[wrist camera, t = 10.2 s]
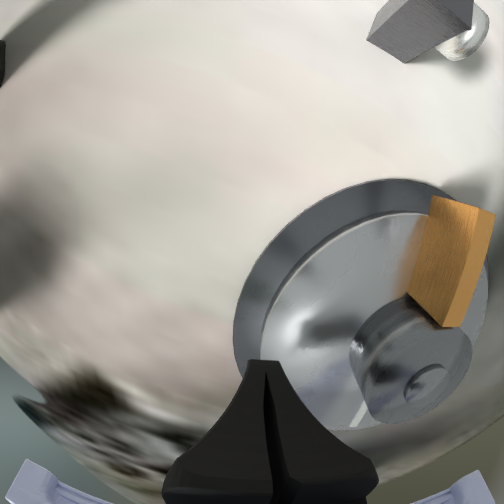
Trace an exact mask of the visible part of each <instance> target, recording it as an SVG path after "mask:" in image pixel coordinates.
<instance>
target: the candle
mask: <svg viewBox="0 0 504 504" xmlns="http://www.w3.org/2000/svg"><path fill="white" fill-rule="evenodd" d="M4 65H5V42H4V41H2V40H0V85H1V83H2V81H3V78H4Z"/></svg>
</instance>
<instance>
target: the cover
mask: <svg viewBox="0 0 504 504" xmlns="http://www.w3.org/2000/svg"><path fill="white" fill-rule="evenodd" d="M471 358H472V343H471V340H470V338H469V337H468V336H467V335H466V334H465V333H464V332H463V331H462V330H461V329H460V328H459V327H442V326H441V325H440V324H439V323H438V322H437V321H436V320H435V319H434V318H433V317H432V316H431V315H430V314H429V313H428V312H427V311H426V310H425V309H424V308H423V307H422V306H421V305H420V304H419V303H418V302H417V301H416V300H415V299H414V298H413V297H412V296H407V297H402V298H399V299H396V300H394V301H391V302H389V303H387V304H386V305H384V306H382V307H381V308H379V309H378V310H377V311H376V312H374V313H373V314H372V315H371V316H370V317H369V318H368V319H367V320H366V321H365V322H364V323H363V324H362V326H361V327H360V329H359V330H358V331H357V333H356V335H355V337H354V339H353V341H352V344H351V347H350V351H349V363H350V367H351V369H352V371H353V374H354V376H355V378H356V381H357V383H358V386H359V388H360V390H361V393H362V395H363V398H364V400H365V403H366V405H367V408H368V410H369V413H370V415H371V416H372V418H374V419H375V420H376V421H378V422H381V423H385V424H397V423H403V422H407V421H410V420H413V419H415V418H418V417H420V416H422V415H424V414H426V413H427V412H429V411H431V410H432V409H434V408H435V407H437V406H438V405H439V404H440V403H442V402H443V401H444V400H445V399H446V398H447V397H448V396H449V395H450V394H451V393H452V392H453V391H454V390H455V389H456V388H457V386H458V385H459V384H460V382H461V381H462V379H463V377H464V376H465V374H466V372H467V370H468V368H469V365H470V362H471Z"/></svg>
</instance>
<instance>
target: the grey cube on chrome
mask: <svg viewBox="0 0 504 504" xmlns="http://www.w3.org/2000/svg"><path fill="white" fill-rule="evenodd" d="M488 29H489V17H488V15H487V14H486V13H485V12H484V11H483V10H482V9H481V8H480V7H479V6H478V5H477V4H475V3H474V0H389V1H388V2H387V3H386V4H385V5H384V6H383V7H382V8H381V10H380V11H379V12H378V13H377V15H376V17H375V20H374V22H373V25H372V27H371V30H370V32H369V35H368V37H367V41H369V42H371V43H373V44H374V45H376V46H378V47H379V48H381V49H383V50H384V51H386V52H388V53H389V54H391V55H392V56H394V57H395V58H397V59H399V60H400V61H402V62H403V63H406V62H408V61H409V60H411V59H413V58H415V57H417V56H418V55H420V54H422V53H424V52H426V51H428V50H430V49H431V48H433V47H434V48H435V49H436V50H438V51H439V52H440V53H442V54H443V55H444V56H445V57H446V58H448V59H449V60H451V61H459V60H462V59H464V58H466V57H468V56H469V55H471V54H472V53H473V52H474V51H475V50H476V49H477V48H478V47H479V46H480V45H481V44H482V42H483V41H484V39H485V37H486V35H487V33H488Z"/></svg>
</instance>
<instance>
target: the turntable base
mask: <svg viewBox="0 0 504 504" xmlns="http://www.w3.org/2000/svg"><path fill="white" fill-rule="evenodd" d="M432 195H435V196H438V197H442V198H446V199H450V200H453V201H456V200H455V199H453V198H452V197H450V196H449V195H447V194H446V193H444V192H443V191H441V190H438V189H436V188H434V187H431V186H429V185H427V184H422V183H418V182H413V181H408V180H391V179H386V180H378V181H370V182H365V183H361V184H358V185H354V186H351V187H347V188H345V189H343V190H340V191H338V192H336V193H334V194H331V195H329V196H327V197H325V198H323V199H322V200H320V201H318V202H317V203H315V204H314V205H312V206H310V207H309V208H307V209H306V210H304V211H303V212H302V213H300V214H299V215H298V216H297V217H296V218H294V219H293V220H292V221H291V222H290V223H288V224H287V225H286V226H285V227H284V228H283V229H282V230H281V231H280V232H279V233H278V234H277V235H276V236H275V238H274V239H273V240H272V241H271V242H270V243H269V244H268V246H267V247H266V248H265V250H264V251H263V252H262V254H261V255H260V257H259V258H258V259H257V261H256V262H255V264H254V266H253V268H252V270H251V271H250V273H249V275H248V277H247V279H246V281H245V283H244V286H243V288H242V291H241V294H240V296H239V299H238V303H237V307H236V312H235V317H234V325H233V346H234V355H235V359H236V362H237V366H238V369H239V372H240V374H241V376H242V378H243V377H244V374H245V372H246V368H247V361H248V360H250V359H258V360H261V359H260V338H261V329H262V325H263V321H264V318H265V314H266V311H267V309H268V307H269V304H270V302H271V300H272V297H273V295H274V294H275V292H276V290H277V289H278V287H279V285H280V284H281V282H282V280H283V279H284V278H285V276H286V275H287V274H288V273H289V271H290V270H291V269H292V267H293V266H294V265H295V264H296V263H297V262H298V261H299V260H300V259H301V258H302V257H303V256H304V255H305V254H306V253H307V252H308V251H309V250H310V249H311V248H312V247H314V246H315V245H316V244H317V243H318V242H320V241H321V240H322V239H323V238H325V237H326V236H328V235H329V234H331V233H333V232H334V231H336V230H337V229H339V228H341V227H342V226H344V225H347V224H349V223H351V222H353V221H355V220H357V219H360V218H363V217H366V216H369V215H372V214H376V213H380V212H387V211H393V210H411V211H417V212H422V213H426V214H428V213H429V209H430V204H431V199H432ZM484 266H485V269H486V274H487V281H489V272H488V260H487V254H486V257H485V260H484Z"/></svg>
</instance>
